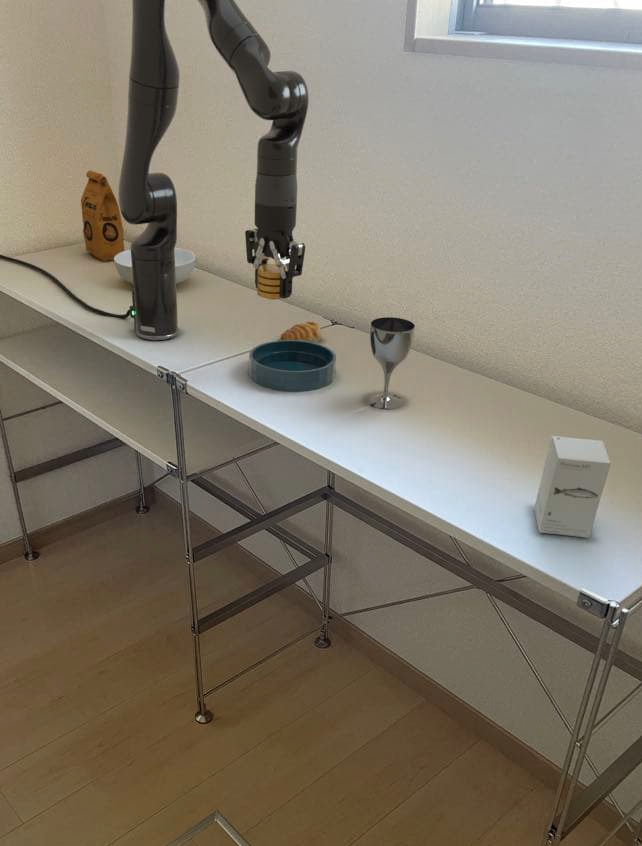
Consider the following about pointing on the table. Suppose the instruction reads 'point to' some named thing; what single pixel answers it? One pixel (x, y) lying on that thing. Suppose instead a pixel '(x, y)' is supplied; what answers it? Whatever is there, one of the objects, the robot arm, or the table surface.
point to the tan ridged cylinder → (269, 281)
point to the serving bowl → (182, 264)
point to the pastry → (303, 332)
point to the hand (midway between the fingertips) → (273, 292)
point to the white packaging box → (571, 486)
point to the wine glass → (390, 352)
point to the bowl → (292, 365)
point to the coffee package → (101, 219)
